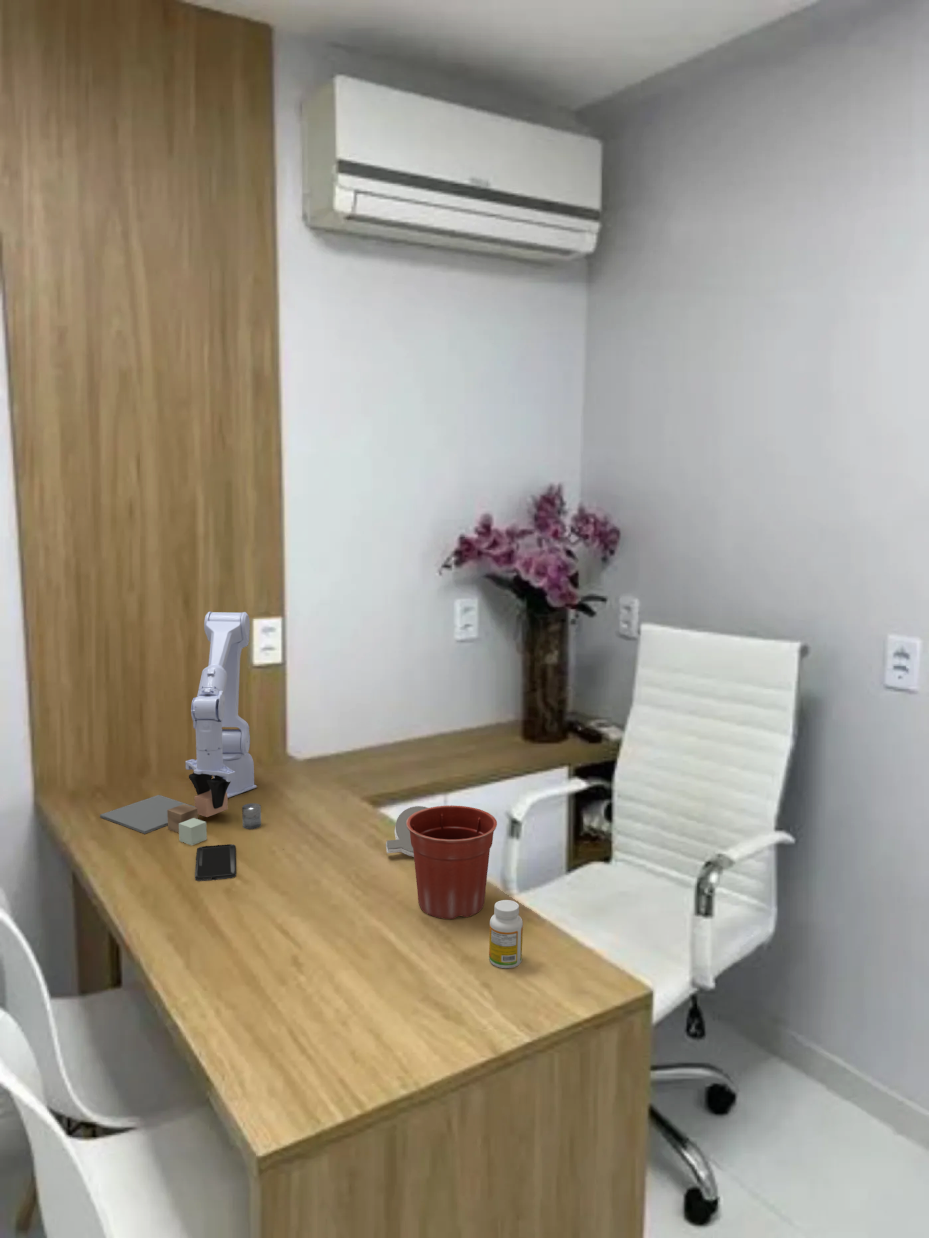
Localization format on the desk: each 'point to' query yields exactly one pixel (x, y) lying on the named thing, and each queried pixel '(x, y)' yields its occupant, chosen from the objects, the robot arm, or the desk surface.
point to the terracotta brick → (208, 804)
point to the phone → (215, 862)
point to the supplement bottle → (505, 935)
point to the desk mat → (143, 814)
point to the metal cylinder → (251, 816)
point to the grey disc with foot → (403, 833)
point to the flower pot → (451, 858)
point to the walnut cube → (180, 816)
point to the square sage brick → (192, 831)
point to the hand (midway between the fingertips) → (211, 805)
